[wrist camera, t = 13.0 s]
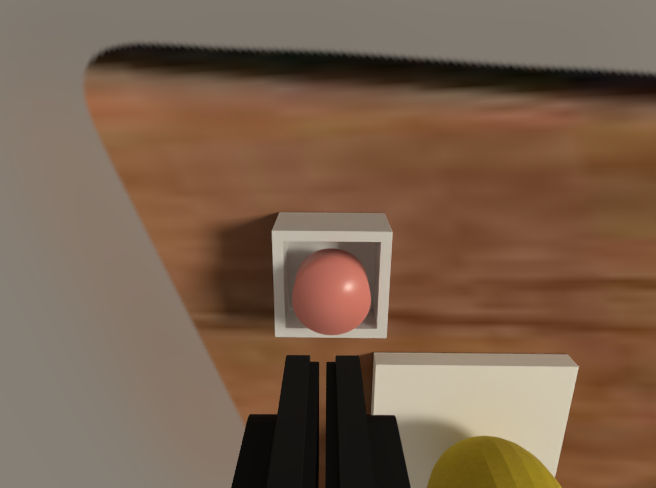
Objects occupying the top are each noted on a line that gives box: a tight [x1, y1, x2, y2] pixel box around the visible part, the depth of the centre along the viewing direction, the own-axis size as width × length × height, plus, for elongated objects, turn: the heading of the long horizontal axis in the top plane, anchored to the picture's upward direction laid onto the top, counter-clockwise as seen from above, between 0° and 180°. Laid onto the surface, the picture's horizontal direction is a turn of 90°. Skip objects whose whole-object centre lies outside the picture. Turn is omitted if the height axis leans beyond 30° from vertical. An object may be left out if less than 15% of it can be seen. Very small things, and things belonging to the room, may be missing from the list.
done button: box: [292, 248, 371, 335], centre depth 17 cm, size 3×3×2 cm
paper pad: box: [371, 352, 579, 488], centre depth 22 cm, size 9×9×1 cm
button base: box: [272, 212, 392, 338], centre depth 19 cm, size 4×4×3 cm
